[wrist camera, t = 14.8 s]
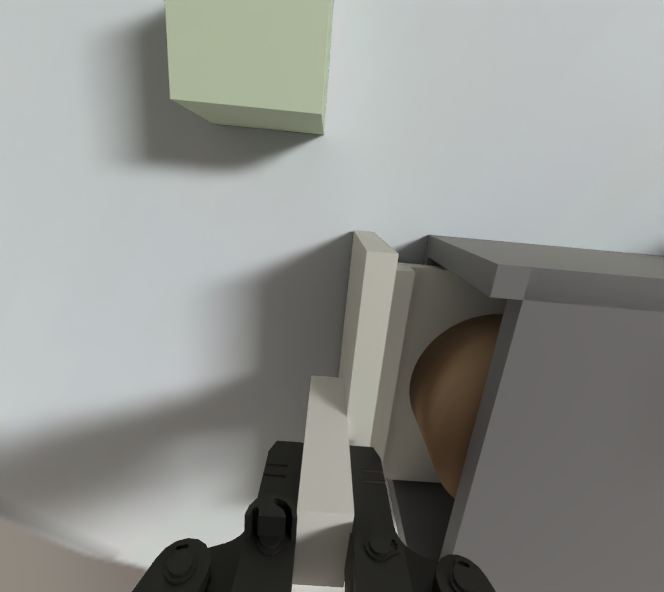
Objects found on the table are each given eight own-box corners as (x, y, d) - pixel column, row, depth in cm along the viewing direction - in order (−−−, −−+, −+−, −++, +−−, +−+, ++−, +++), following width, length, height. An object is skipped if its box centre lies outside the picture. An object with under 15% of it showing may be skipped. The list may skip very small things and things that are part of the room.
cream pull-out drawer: (663, 258, 16) (842, 293, 11) (573, 488, 21) (665, 599, 15) (353, 230, 16) (366, 251, 10) (328, 471, 20) (327, 580, 15)
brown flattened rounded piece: (420, 309, 16) (449, 347, 12) (585, 318, 16) (667, 358, 12) (400, 446, 18) (419, 515, 14) (544, 452, 18) (601, 522, 14)
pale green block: (209, -15, 13) (159, -101, 9) (333, -1, 13) (335, -80, 9) (212, 123, 15) (170, 98, 11) (323, 134, 15) (321, 114, 11)
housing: (740, 263, 17) (1017, 310, 10) (633, 492, 21) (774, 630, 14) (428, 234, 16) (498, 264, 9) (386, 475, 21) (413, 610, 14)
